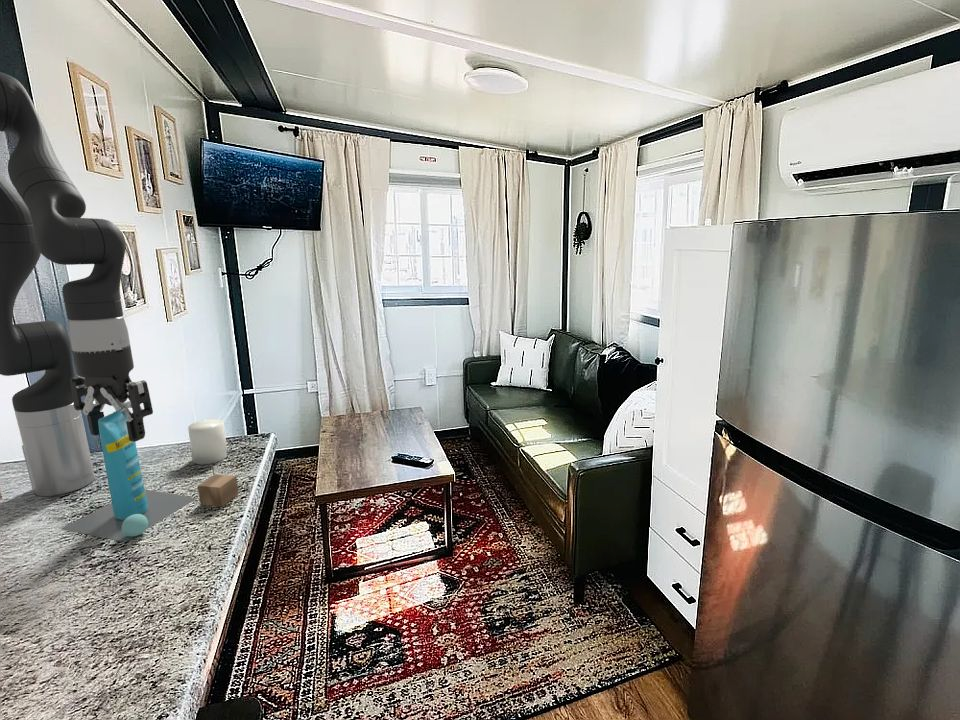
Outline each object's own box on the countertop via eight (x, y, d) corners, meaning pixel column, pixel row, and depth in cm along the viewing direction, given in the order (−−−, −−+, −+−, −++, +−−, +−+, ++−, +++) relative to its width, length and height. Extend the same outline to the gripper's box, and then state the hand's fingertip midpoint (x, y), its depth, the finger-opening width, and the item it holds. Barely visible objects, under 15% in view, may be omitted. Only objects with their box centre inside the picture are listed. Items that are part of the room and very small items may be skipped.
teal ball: (118, 539, 75) (114, 520, 74) (138, 527, 78) (135, 508, 78) (135, 542, 74) (131, 523, 73) (155, 530, 77) (151, 511, 77)
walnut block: (197, 485, 85) (219, 487, 84) (214, 474, 89) (236, 475, 88) (200, 507, 86) (222, 509, 85) (217, 495, 90) (238, 497, 89)
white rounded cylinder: (185, 463, 103) (180, 430, 101) (204, 450, 109) (200, 418, 108) (216, 465, 103) (212, 431, 101) (233, 451, 109) (230, 419, 107)
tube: (137, 522, 80) (116, 417, 75) (105, 526, 79) (82, 419, 74) (156, 500, 87) (139, 403, 82) (127, 503, 86) (107, 405, 81)
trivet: (61, 531, 78) (61, 528, 78) (140, 491, 91) (140, 488, 91) (125, 545, 75) (125, 541, 74) (198, 500, 88) (197, 498, 88)
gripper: (43, 346, 74) (63, 440, 78) (111, 353, 70) (129, 451, 74) (92, 337, 81) (108, 424, 85) (156, 343, 77) (170, 433, 81)
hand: (118, 436), depth 79 cm, fingers open, 8 cm apart
